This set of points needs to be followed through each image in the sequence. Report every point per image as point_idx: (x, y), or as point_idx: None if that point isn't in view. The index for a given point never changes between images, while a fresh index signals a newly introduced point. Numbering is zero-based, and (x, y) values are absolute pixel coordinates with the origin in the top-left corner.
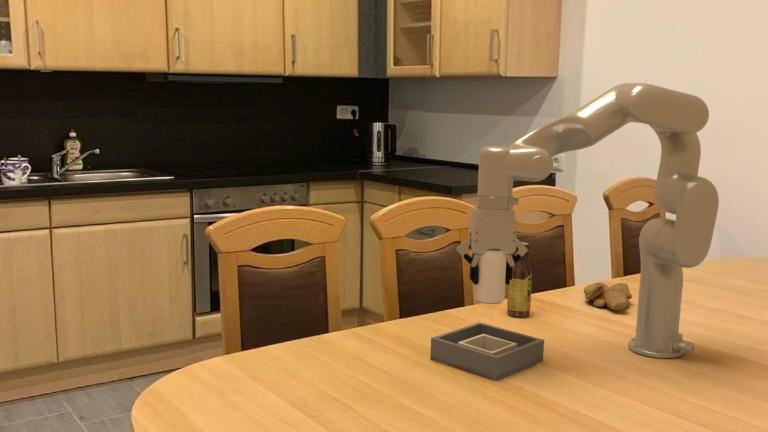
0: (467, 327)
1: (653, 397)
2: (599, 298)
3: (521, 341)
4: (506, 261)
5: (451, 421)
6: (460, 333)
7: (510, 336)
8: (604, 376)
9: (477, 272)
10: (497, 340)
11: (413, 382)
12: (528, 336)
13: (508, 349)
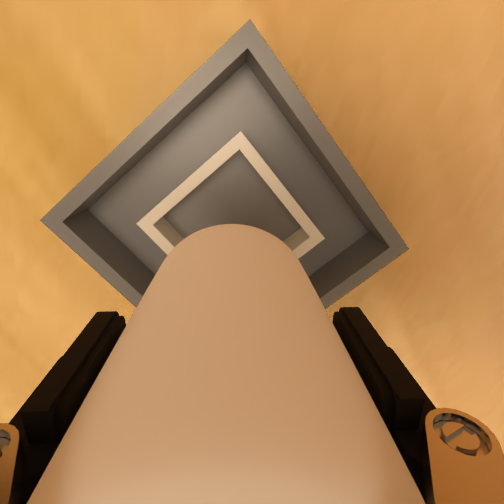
0: (184, 98)
1: (493, 417)
2: None
3: (350, 197)
4: (424, 463)
5: None
6: (155, 137)
7: (328, 164)
8: (470, 325)
9: None
10: (274, 192)
11: (35, 350)
12: (374, 214)
13: None
